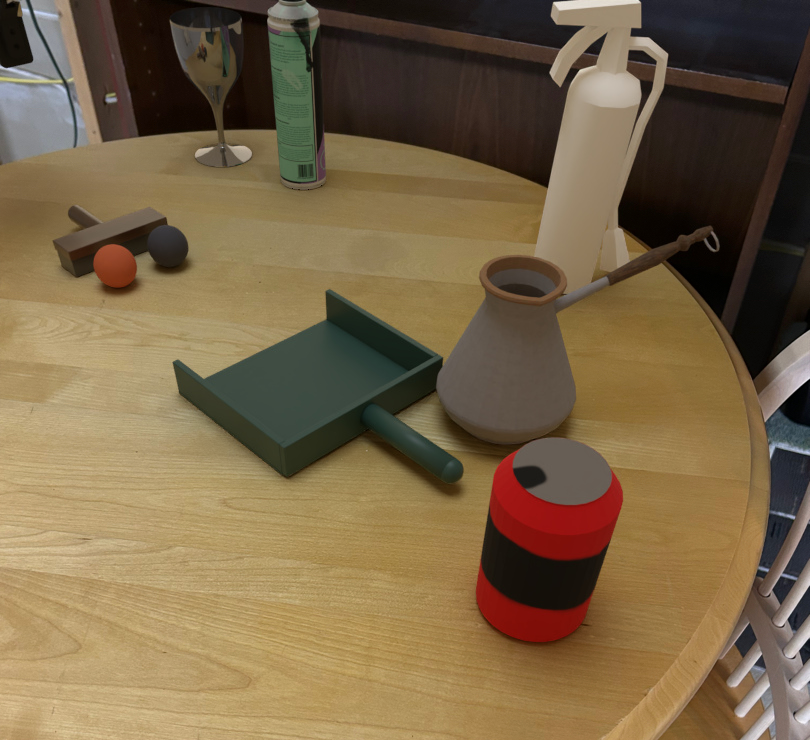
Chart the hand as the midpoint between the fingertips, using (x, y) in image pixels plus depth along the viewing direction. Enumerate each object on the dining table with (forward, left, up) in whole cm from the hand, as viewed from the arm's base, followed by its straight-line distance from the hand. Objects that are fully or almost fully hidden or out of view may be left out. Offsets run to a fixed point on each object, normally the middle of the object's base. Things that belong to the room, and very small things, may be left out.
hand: (12, 60), depth 78 cm
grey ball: (+18, +3, -13) cm, 23 cm away
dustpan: (+49, 0, -15) cm, 51 cm away
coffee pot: (+60, +14, -15) cm, 63 cm away
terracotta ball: (+18, -3, -13) cm, 23 cm away
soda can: (+72, -4, -15) cm, 73 cm away
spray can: (+12, +26, -15) cm, 32 cm away
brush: (+10, 0, -15) cm, 18 cm away
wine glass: (0, +23, -15) cm, 28 cm away
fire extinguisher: (+48, +32, -15) cm, 59 cm away
